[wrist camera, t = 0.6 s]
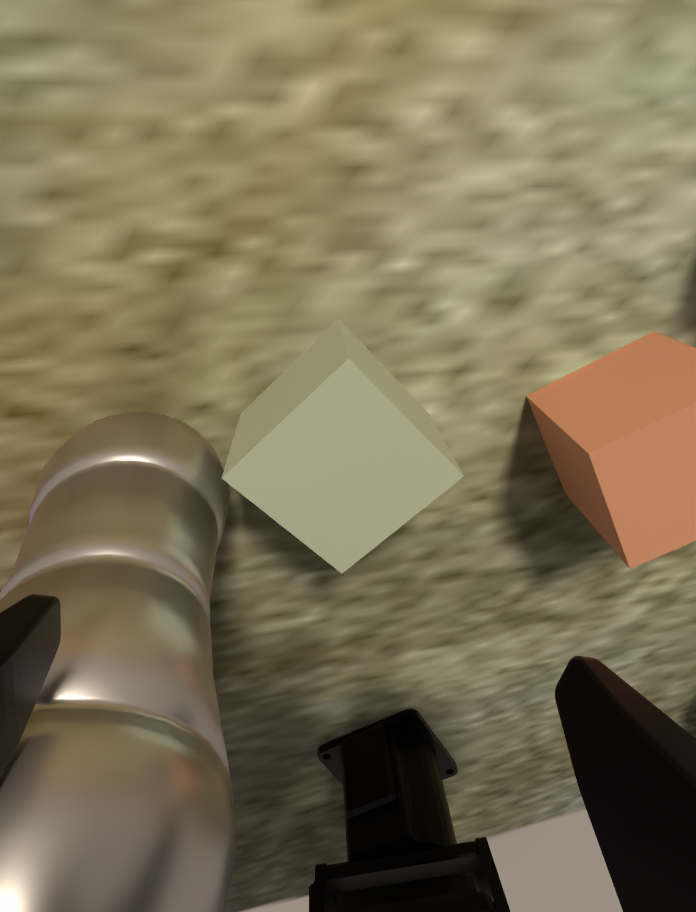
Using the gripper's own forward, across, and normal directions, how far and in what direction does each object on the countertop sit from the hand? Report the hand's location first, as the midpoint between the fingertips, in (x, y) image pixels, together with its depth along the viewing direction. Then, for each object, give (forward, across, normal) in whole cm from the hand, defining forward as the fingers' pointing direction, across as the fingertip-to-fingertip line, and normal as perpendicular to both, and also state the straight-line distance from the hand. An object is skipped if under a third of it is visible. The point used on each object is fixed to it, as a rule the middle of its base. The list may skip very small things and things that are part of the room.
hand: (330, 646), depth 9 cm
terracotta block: (+14, -12, -1) cm, 18 cm away
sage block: (+14, -1, +1) cm, 14 cm away
